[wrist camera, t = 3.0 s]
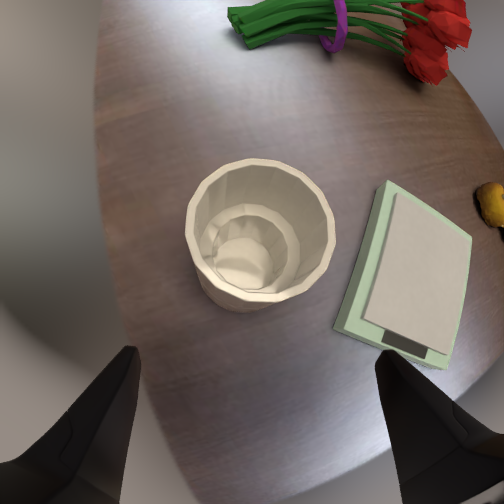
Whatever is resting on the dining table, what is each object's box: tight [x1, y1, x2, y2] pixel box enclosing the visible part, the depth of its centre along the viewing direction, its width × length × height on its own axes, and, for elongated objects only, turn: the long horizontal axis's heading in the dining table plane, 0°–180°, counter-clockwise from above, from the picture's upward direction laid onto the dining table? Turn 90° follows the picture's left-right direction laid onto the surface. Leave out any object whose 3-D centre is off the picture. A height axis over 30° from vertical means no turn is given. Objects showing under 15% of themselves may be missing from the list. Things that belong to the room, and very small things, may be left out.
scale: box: [333, 180, 472, 370], centre depth 23 cm, size 14×12×3 cm
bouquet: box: [227, 0, 472, 87], centre depth 25 cm, size 20×16×30 cm
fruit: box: [476, 182, 504, 238], centre depth 27 cm, size 8×8×4 cm
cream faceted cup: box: [185, 158, 336, 313], centre depth 18 cm, size 7×7×10 cm
